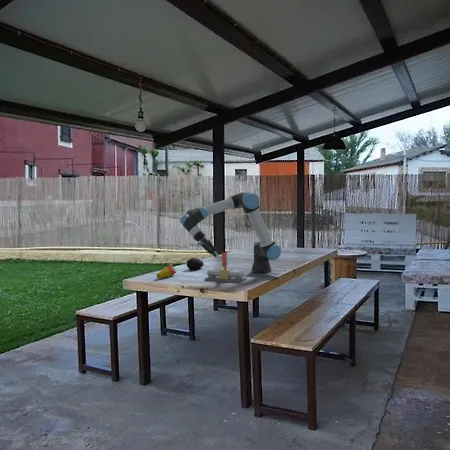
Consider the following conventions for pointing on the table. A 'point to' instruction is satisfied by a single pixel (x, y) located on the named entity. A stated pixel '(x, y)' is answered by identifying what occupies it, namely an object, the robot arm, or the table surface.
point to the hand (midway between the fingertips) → (219, 259)
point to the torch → (166, 272)
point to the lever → (224, 259)
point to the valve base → (225, 276)
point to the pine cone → (194, 264)
